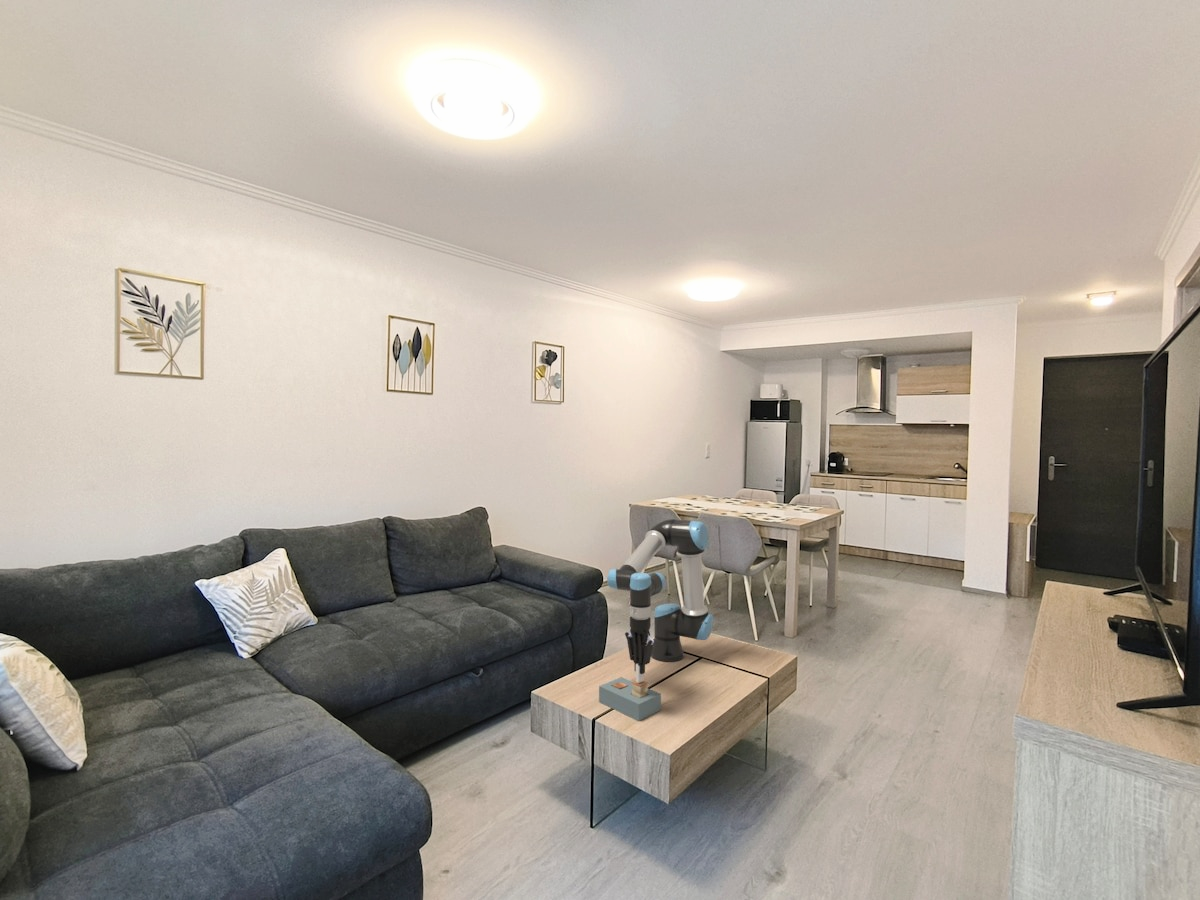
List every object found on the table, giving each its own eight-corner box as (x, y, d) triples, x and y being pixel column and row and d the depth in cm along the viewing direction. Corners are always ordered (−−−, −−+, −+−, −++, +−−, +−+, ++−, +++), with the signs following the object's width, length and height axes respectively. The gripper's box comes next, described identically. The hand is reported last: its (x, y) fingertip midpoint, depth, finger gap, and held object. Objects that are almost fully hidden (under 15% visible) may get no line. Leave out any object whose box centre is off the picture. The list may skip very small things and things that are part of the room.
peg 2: (639, 695, 206) (639, 678, 206) (647, 698, 203) (647, 682, 203) (631, 698, 204) (631, 682, 203) (640, 702, 201) (640, 685, 201)
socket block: (621, 692, 218) (621, 677, 218) (660, 710, 204) (660, 693, 204) (599, 702, 210) (599, 686, 210) (638, 721, 196) (638, 704, 196)
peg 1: (619, 697, 214) (619, 681, 213) (627, 701, 211) (627, 685, 211) (612, 700, 211) (612, 685, 211) (619, 704, 208) (620, 688, 208)
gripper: (620, 614, 205) (619, 679, 205) (646, 623, 196) (646, 690, 196) (633, 610, 210) (633, 673, 211) (660, 618, 201) (660, 684, 201)
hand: (639, 681), depth 203 cm, fingers closed
